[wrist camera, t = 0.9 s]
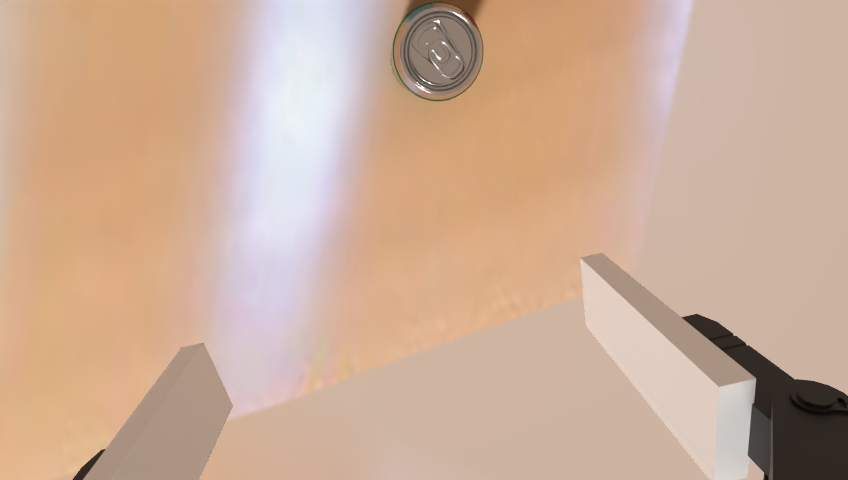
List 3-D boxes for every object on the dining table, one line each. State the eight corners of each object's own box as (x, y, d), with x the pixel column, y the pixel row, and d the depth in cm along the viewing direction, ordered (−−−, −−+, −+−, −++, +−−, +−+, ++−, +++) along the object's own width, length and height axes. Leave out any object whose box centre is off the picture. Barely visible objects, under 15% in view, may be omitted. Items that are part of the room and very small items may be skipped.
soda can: (424, 9, 33) (443, -26, 22) (468, 62, 35) (506, 55, 23) (377, 58, 34) (372, 49, 23) (421, 107, 36) (437, 121, 24)
